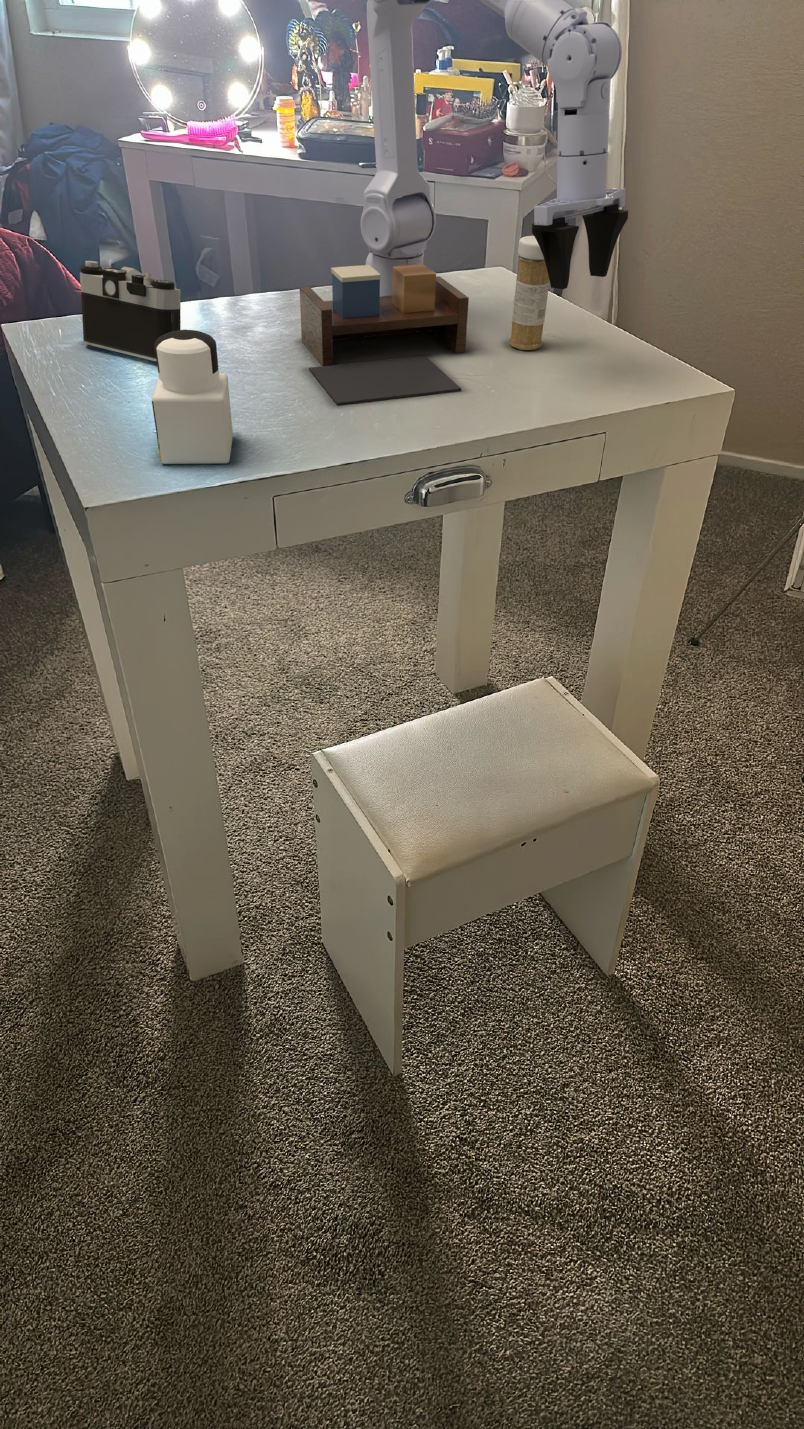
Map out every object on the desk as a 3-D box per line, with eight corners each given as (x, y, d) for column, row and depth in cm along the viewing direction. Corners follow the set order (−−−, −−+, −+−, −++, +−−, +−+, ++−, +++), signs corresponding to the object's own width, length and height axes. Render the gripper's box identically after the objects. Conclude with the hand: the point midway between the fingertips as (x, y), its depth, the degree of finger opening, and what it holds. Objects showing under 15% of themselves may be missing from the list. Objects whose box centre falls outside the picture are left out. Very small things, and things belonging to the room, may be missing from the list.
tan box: (391, 303, 125) (392, 266, 122) (422, 300, 126) (423, 264, 123) (403, 313, 122) (404, 275, 119) (434, 310, 123) (436, 273, 120)
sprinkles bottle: (525, 338, 130) (537, 232, 122) (548, 347, 128) (562, 240, 119) (501, 344, 128) (512, 237, 120) (525, 353, 126) (537, 245, 117)
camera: (213, 356, 125) (214, 275, 120) (160, 364, 117) (158, 277, 112) (128, 336, 130) (126, 257, 125) (71, 343, 122) (66, 258, 117)
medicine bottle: (167, 436, 102) (152, 323, 95) (233, 436, 103) (223, 324, 95) (160, 465, 97) (143, 348, 89) (229, 464, 98) (218, 348, 90)
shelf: (301, 341, 127) (299, 287, 122) (437, 328, 133) (439, 276, 128) (322, 367, 120) (321, 310, 115) (465, 352, 125) (469, 297, 121)
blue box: (331, 308, 122) (330, 267, 119) (369, 305, 124) (369, 264, 121) (342, 319, 119) (341, 277, 116) (380, 315, 121) (381, 274, 117)
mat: (308, 369, 119) (308, 367, 119) (425, 357, 123) (425, 355, 123) (337, 405, 110) (337, 402, 110) (460, 390, 115) (461, 388, 115)
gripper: (569, 161, 101) (566, 296, 108) (649, 145, 108) (641, 273, 116) (520, 161, 105) (520, 291, 113) (600, 146, 113) (596, 269, 120)
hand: (579, 281), depth 115 cm, fingers open, 7 cm apart
